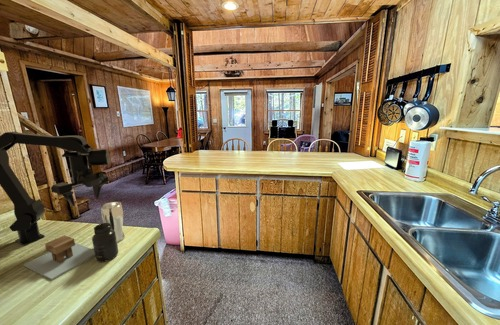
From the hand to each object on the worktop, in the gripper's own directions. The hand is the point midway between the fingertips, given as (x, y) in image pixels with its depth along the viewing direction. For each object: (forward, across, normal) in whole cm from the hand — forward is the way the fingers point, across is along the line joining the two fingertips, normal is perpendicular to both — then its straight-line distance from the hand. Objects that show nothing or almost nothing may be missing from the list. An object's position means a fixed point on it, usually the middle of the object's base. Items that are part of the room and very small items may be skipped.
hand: (85, 202), depth 88 cm
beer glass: (+13, 0, -17) cm, 22 cm away
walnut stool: (+12, -16, -12) cm, 24 cm away
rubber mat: (+13, -16, -12) cm, 24 cm away
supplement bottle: (+13, -9, -24) cm, 29 cm away
